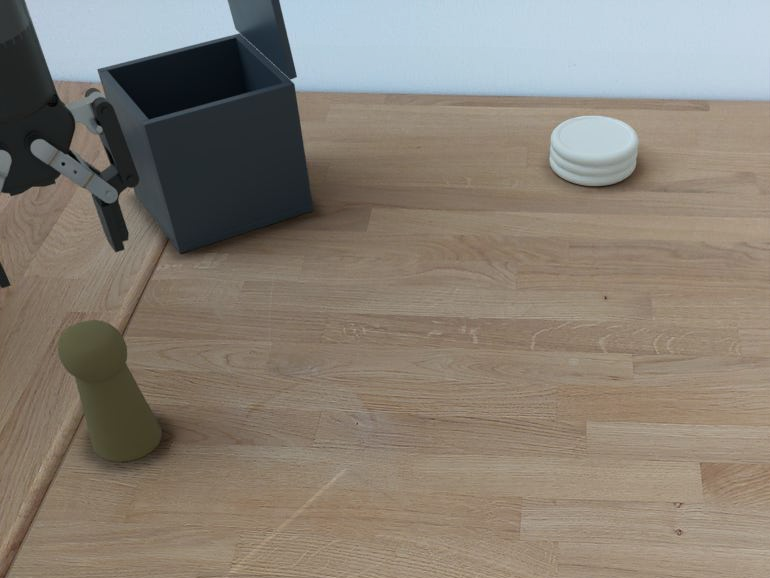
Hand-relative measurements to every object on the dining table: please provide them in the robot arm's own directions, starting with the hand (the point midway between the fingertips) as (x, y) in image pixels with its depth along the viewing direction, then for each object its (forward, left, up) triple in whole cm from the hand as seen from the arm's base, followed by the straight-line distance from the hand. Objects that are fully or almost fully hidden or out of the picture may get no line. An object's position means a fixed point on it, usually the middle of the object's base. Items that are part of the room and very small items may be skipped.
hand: (61, 263), depth 71 cm
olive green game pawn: (0, 0, -17) cm, 17 cm away
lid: (+11, +41, +5) cm, 43 cm away
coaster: (+47, +43, -17) cm, 66 cm away
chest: (+5, +38, -17) cm, 42 cm away
